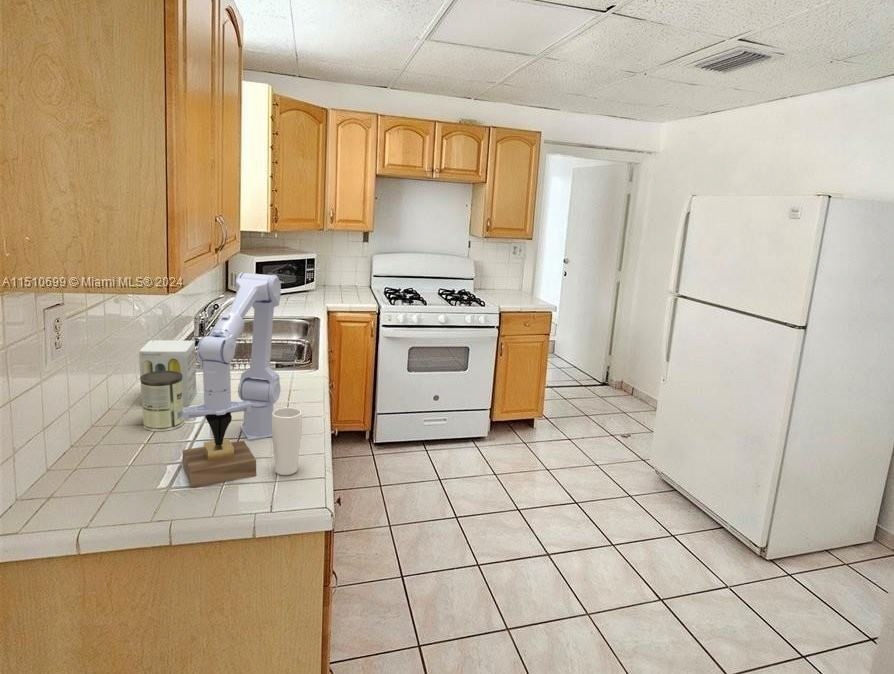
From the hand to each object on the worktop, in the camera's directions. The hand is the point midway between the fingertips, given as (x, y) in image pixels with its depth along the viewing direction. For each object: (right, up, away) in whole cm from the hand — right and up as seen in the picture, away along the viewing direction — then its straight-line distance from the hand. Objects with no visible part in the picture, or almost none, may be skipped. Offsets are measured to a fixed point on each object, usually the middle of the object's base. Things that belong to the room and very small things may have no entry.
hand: (218, 443), depth 132 cm
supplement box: (-33, +5, +44) cm, 55 cm away
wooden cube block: (0, -6, +2) cm, 6 cm away
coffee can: (-25, 0, +25) cm, 36 cm away
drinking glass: (+15, -8, +4) cm, 17 cm away
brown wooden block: (0, -7, +2) cm, 7 cm away
